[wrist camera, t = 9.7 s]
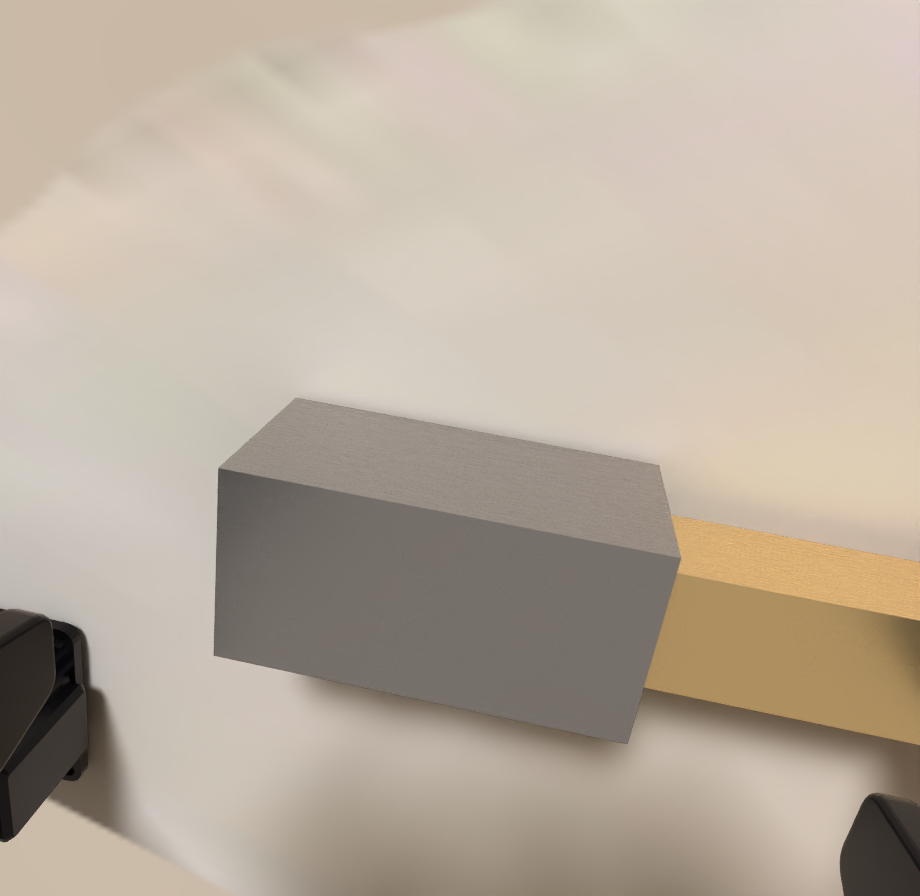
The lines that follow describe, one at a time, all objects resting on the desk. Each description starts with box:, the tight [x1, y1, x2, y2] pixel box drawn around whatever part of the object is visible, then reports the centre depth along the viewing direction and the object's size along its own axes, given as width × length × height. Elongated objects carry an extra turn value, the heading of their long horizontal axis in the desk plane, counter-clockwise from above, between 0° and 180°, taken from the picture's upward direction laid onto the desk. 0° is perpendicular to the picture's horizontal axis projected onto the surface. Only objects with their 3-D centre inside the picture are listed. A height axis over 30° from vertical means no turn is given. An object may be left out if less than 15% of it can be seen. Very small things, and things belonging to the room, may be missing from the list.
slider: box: [644, 515, 920, 745], centre depth 16 cm, size 15×3×9 cm, turn 82°
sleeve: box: [214, 398, 681, 744], centre depth 20 cm, size 10×5×5 cm, turn 82°
